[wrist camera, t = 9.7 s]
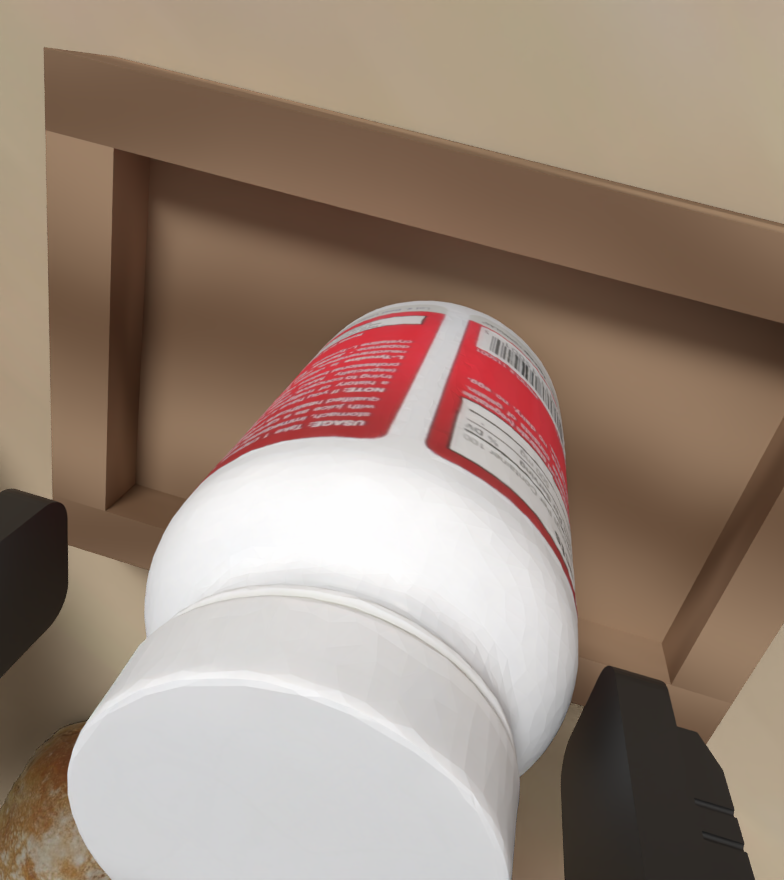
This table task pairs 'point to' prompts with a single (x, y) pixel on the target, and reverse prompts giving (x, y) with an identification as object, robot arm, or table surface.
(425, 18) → the table surface
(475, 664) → the pill bottle
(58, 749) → the bread roll
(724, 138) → the table surface
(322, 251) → the shallow rectangular tray
